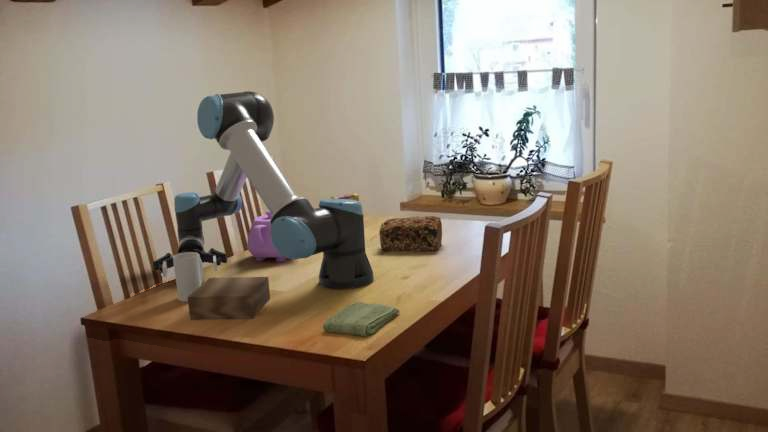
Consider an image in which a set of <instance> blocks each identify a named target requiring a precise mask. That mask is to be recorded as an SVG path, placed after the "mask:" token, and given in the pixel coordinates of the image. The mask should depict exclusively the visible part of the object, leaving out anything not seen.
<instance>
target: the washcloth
mask: <svg viewBox="0 0 768 432" xmlns="http://www.w3.org/2000/svg"><path fill="white" fill-rule="evenodd" d="M399 313H400V310H399V309H398V308H396V307H395V306H388V305H384V304H380V303H376V302H372V303H367V302H363V301H355V302H352V303H351V304H350V303H349V304H347V306H345V307H344V308H342V309H341V310H340V311H338V312H337V313H334V314H333V315H331V316H329V318H327V319H326V320H325V321H324V322H323V325H322V329H323V331H324V332H327V333H336V334H347V335H353V336H358V337H365V338H366V337H369V336H371V335H373V334H374V333H376V332H377V331H378V330H379V329H381V328H382V327H383V326H384V325H385V324H386V323H387V322H389V321H391V319H392V318H393V317H395V316H397V314H399Z"/></svg>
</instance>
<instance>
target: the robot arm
mask: <svg viewBox="0 0 768 432" xmlns="http://www.w3.org/2000/svg"><path fill="white" fill-rule="evenodd" d="M274 117H275V114H274V111H273V107H272V104H271V103H270V101H269V100H268V99H267V98H266V97H265V96H263V95H262V94H260V93H258V92H255V91H250V90H248V91H247V90H246V91H243V92H241V91H240V92H232V93H222V94H218V93H215V94H214V95H208V96H206V97H204V98H203V99H202V100H201V101H200V103H199V104H198V109H197V117H196V119H197V120H196V121H197V127H198V129H199V131H200V132H199V133H200V134H201V136H203V137H204V138H205V139H208V140H216V142H217V143H218V145H219V147H220V148H221V149H223V150H224V151H225V150H227V151H229V156H228V158H227V160H226V163H225V166H224V168H223V170H222V173H221V174H220V178H219V180H218V182H217V184H216V186H215V189H214V192H213V193H212V194H208V195H203V196H200V194H199V193H197V192H195V191H193V192H191V191H190V192H182V193H179V194H176V195H175V196H174V202H173V203H174V204H173V206H174V213H175V221H176V226H177V237H178V238H177V239H178V248H177V252H176V254H180V253H185V252H196V253H198V254H199V255H200V258H201V260H202V264H204V263H208V264H213V271H214V272H217V271H218V266H221V265H222V263H223V264H227V263H228V257H227V253H225V252H221V251H220V250H216V249H215V248H213V247H212V248H210V249H209V250H208V251H206V250H205V238H204V233H203V232H204V231H203V222H204V221H210V220H214V219H218V218H223V217H227V216H232V215H234V214H237V213H238V212H240V211H241V209H242V203H243V199H242V196H241V195H240V194H241V191H242V190H243V187H244V185H245V183H246V180H247V179H248V181H249V183H251V185H252V187H253V188H254V190H255V191H256V193H257V194H258V196H259V197H260V199H261V200H262V202H263V204H264V205H265V207H266V209H267V211H270V213H271V214H272V216H271V220H270V223H271V228H270V235H271V236H272V239H271V240H272V243H273V245H274V247H275V248H276V250H277V251H278V252H279V253H280V254H281V255H282V256H284V257H285V259H288V260H293V261H296V260H300V259H308V258H309V257H311V256H315V255H317V254H320V253H323V254H322V255H323V256H322V260H321V264H320V268H319V272H318V283H319V285H320V286H321V287H323V288H326V289H333V290H347V289H355V288H360V287H364V286H367V285H369V284H371V283H372V282H373V281H374V279H375V278H374V271H373V267H372V266H371V263H370V260H369V258H368V255H367V253H366V242H365V239H366V238H365V226H364V225H365V222H364V221H365V220H364V218H365V216H364V214H363V205H362V203H361V202H360V200H359V201H356V200H350V199H331V198H325V199H321V200H320V201H319V204H318V207H317V208H314V207H313V205H312V203H310V201H309V199H308V198H306V197H302V196H299V194H297V192H296V191H295V189H294V188H293V185H292V184H291V183H290V181H289V180H288V179H287V177H286V176H285V174H284V173H283V171H282V169H280V167H279V165H278V164H277V162H276V160H275V159H274V157H272V155H271V153H270V152H269V150H268V149H267V148H266V146H265V145H264V143H263V142H266V141H268V140H269V138H270V135H271V133H272V130H273V127H274V120H275V118H274ZM174 255H175V254H174ZM174 255H173V254H172V253H170V252H167V253H165V254H164V256H161V257H160V258H157V259H155V260H154V261H152V266H153V271H154V272H156V271H159V273H160V274H162V277H163V278H167V275H168V269H171V268H174V263H173V256H174Z"/></svg>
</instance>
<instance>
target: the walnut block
mask: <svg viewBox="0 0 768 432" xmlns="http://www.w3.org/2000/svg"><path fill="white" fill-rule="evenodd" d="M269 282H270V281H269V276H241V277H240V276H239V277H237V276H236V277H235V276H234V277H233V276H232V277H231V276H230V277H209V278H207V279H206V280H205V281H204V282H202V283H201V286H200V287H198V288H197V289H196V290H195V291H194V292H193V293H192V294H190V295H189V296H188V302H187V303H188V311H189V312H188V313H189V320H190V321H216V320H217V321H218V320H219V321H220V320H223V321H227V320H230V321H231V320H254V319H255V317H256V316H257V315H258V314H259V312H260V311H261V310H262V309H263V308H264V307H265V305H266V304H267V303H268V302H269V301H270V299H271V295H270V292H271V291H270V284H269Z"/></svg>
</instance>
